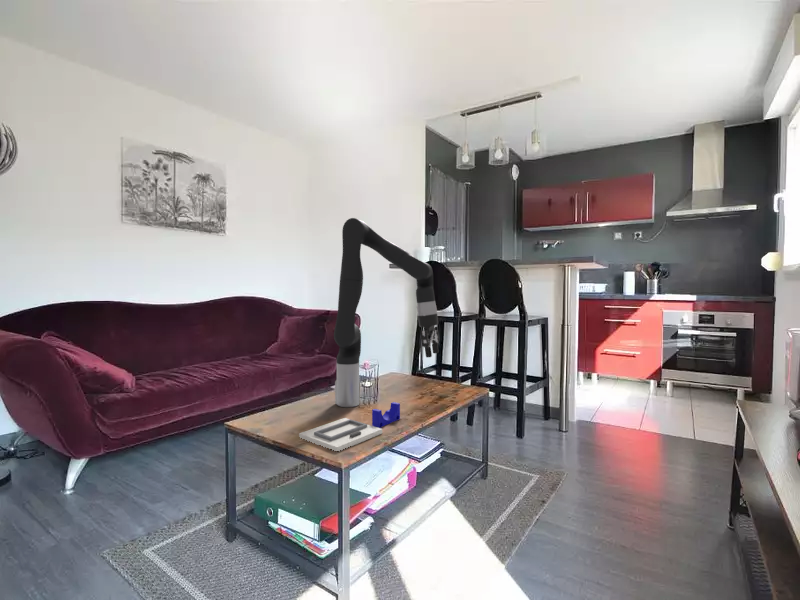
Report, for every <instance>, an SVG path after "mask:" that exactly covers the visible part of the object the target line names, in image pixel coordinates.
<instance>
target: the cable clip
mask: <svg viewBox="0 0 800 600" xmlns="http://www.w3.org/2000/svg"><path fill="white" fill-rule="evenodd" d="M371 416H372V417H371V422H372V423H371V426H374V427H378V428H383V427H384V426H387V425H389V424H391V423H394V422H396V421H399V420H400V419H401V403H400V402H395V401H392V402H391V403H390V408H389V409H387V410H385V412H384V414H383V412H382V409H377V408H374V409H372V410H371Z"/></svg>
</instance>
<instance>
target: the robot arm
mask: <svg viewBox="0 0 800 600" xmlns="http://www.w3.org/2000/svg"><path fill="white" fill-rule="evenodd" d="M341 230H342V231H341V232H342V233H341V235H342V256H341V265H340V275H339V288H338V289H339V290H338V300H337V301H338V302H337V303H338V304H337V313H336V321H335V327H334V330H333V339H334V341H335V343H336V344H337V346H338V347H339V349H338V353H337V356H336V380H334V386H335V387H334V397H335V398H334V403H335V405H336V406H338V407H342V408H353V407H357V406H359V405H360V358H361V357H360V356H361V351H362V331H361V329H360V327H359V326H358V325H357V324H356V323H355V322H356V312H357V308H358V306H359V303H360V299H361V297H362V293H363V286H364V285H363V284H364V271H363V266H362V261H361V249H362V248H361V247H362V245H363V246H366V247H368V248H369V249H371V250H373V251H375V252H377V254H379V255H380V256H381V257H383V258H384V259H385V260H386V261H388V262H389V263H390V264H392V265H393V266H395V267H397V268H399V269H401V270H403V271H404V272H405V273H406V274H408V275H409V276H411V277H412V278H413V279H415V280H416V290H415V297H416V311H417V312H416V313H417V320H418V326H419V327H420V328H423V330H420V339H421V340H420V341H421V347H423V348H424V353H425V357H426V358H432V356H433V354H438V353H439V351H440V350H439V342H440V334H439V327H438V326H439V316H438V309H437V305H436V304H437V303H436V296H435V289H434V272H433V268H432V266H431V265H430V264H429V263H427V262H424V261H422V260H420V259H418V258H417V257H415V256H413V254H412V253H410V252H409V251H408V250H405V249H404V248H402V247H401V246H399V245H397V244H395V243H393V242H391V241H390V240H388V239H386V238H384V237H383V236H382V235H380V234H379V233H377V231H375V230H374V229H372V227H370V225H368V224H367V223H366V222H365V221H363V220H361V219H359V218H357V217H351V218H348V219H347V220H346V221H345V222H344V224H343V225H342V229H341ZM437 325H438V326H437ZM432 353H433V354H432Z"/></svg>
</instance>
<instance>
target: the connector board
mask: <svg viewBox="0 0 800 600" xmlns="http://www.w3.org/2000/svg"><path fill="white" fill-rule="evenodd" d="M382 434H383V428H382V427H380V428H378V427H374V426H372V424H367V423H364V422H361V421H357V420H354V419H350V418H346V417H344V418H340V419H337V420H335V421H332V422H329V423H326V424H323V425H320V426H317V427H314V428H311V429H308V430H306V431H302V432H299V433H298V438H299V437H300V438H299V439H301V438H302V439H301V440H303V439H305V440H304V441H306V440H307V441H306V442H309V441H310V442H309V443H311V442H312V444H314V443H315V444H314V445H317V446H319V445H321V446H320V447H322V446H323V448H325V447H326V448H325V449H327V448H329V449H328V450H330V449H332V450H331V451H333V450H334V452H335V451H339V452H341V451H344V450H346V449H348V447H349V448H351V447H353V446H356V445H358V444H360V443H363V442H365V441H367V440H369V439H373V438H375V437H377V436H380V435H382ZM350 446H351V447H350ZM345 448H346V449H345ZM343 449H344V450H343ZM340 450H341V451H340Z"/></svg>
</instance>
